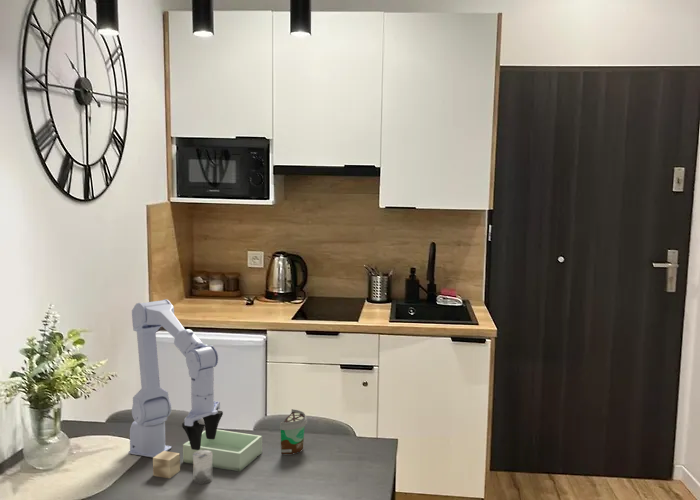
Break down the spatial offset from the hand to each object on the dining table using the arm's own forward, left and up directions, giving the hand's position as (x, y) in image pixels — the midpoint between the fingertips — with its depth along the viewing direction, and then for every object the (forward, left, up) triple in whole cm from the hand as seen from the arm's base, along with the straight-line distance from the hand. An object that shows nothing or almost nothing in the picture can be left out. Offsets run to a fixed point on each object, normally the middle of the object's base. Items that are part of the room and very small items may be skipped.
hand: (203, 443), depth 181 cm
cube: (-11, 0, -10) cm, 15 cm away
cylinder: (0, 0, -10) cm, 10 cm away
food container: (+15, +27, -10) cm, 32 cm away
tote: (-2, +14, -10) cm, 17 cm away
